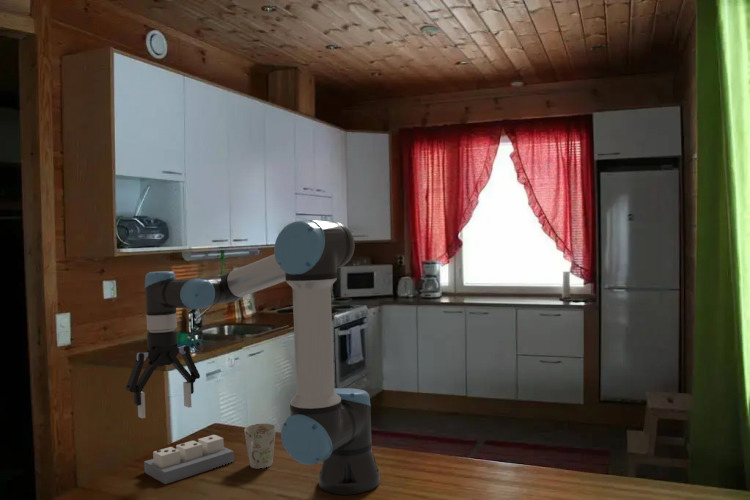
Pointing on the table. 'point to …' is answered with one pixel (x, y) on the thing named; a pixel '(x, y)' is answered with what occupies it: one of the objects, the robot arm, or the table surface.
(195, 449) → the white die
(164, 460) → the white block with dots
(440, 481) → the table surface
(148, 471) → the board
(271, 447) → the mug
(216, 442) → the white block
